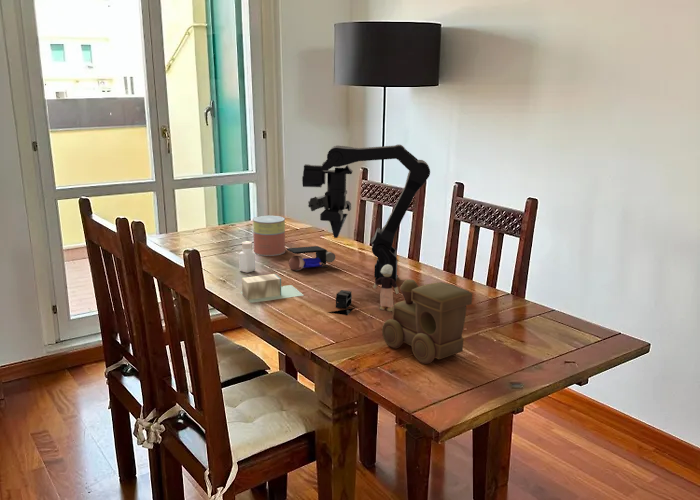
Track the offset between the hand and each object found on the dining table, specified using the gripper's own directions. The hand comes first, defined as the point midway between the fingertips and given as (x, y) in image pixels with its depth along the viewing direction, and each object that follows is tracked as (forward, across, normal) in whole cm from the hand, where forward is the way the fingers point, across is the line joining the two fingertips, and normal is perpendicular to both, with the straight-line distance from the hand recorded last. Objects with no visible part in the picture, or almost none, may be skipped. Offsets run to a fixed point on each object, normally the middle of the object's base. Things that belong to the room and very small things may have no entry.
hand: (335, 237), depth 203 cm
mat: (+13, +21, -15) cm, 28 cm away
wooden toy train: (+13, +50, +31) cm, 60 cm away
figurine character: (+13, -8, -10) cm, 18 cm away
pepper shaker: (+13, 0, -29) cm, 32 cm away
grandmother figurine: (+13, +24, +19) cm, 33 cm away
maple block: (+10, +20, -13) cm, 25 cm away
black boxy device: (+14, +26, +8) cm, 30 cm away
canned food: (+13, -24, -29) cm, 40 cm away
